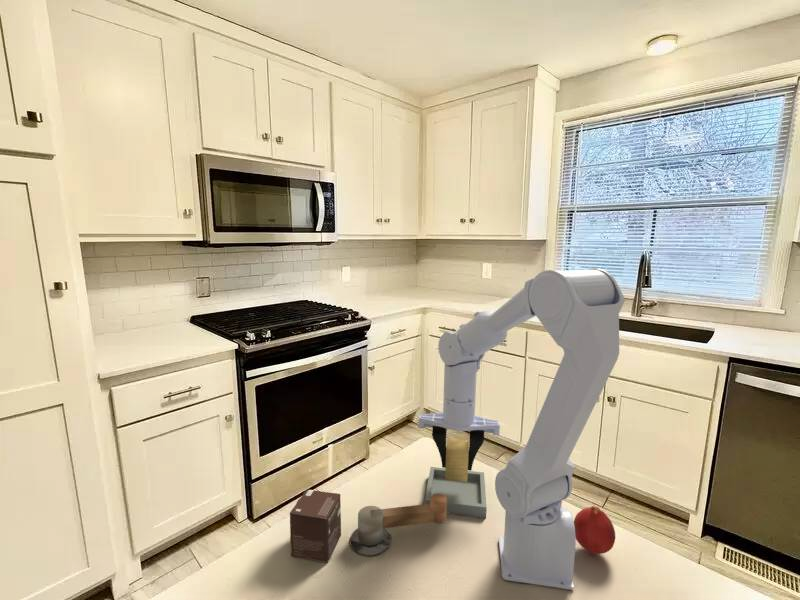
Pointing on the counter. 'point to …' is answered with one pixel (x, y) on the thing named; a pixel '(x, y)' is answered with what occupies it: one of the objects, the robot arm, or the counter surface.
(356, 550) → the crank base
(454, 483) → the tray
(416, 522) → the crank
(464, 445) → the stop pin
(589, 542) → the onion
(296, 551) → the box
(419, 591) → the counter surface
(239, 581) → the counter surface
